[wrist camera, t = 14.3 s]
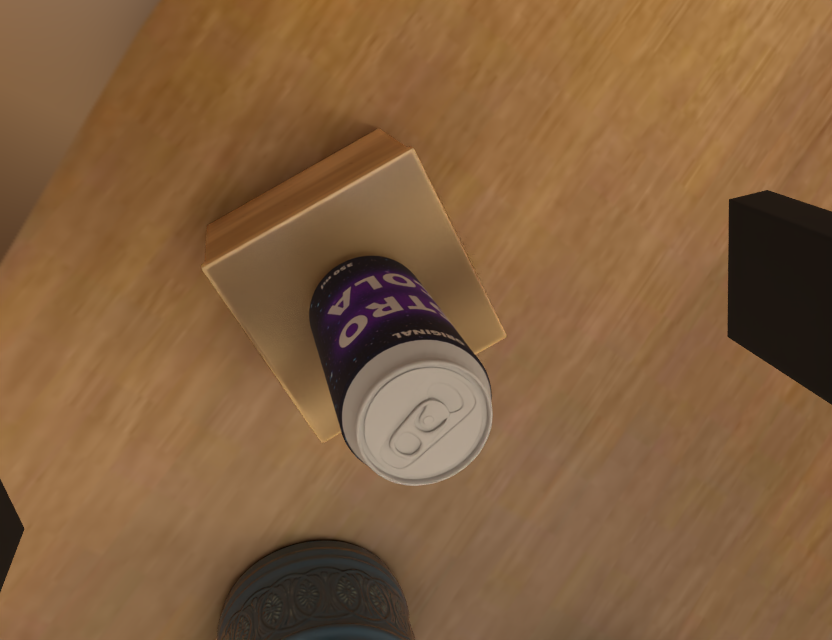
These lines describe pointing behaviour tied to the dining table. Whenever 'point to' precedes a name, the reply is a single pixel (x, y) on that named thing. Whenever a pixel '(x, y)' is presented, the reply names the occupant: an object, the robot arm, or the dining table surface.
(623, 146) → the dining table surface
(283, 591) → the canister
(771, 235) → the robot arm
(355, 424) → the beverage can
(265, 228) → the wooden block
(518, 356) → the dining table surface
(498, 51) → the dining table surface
